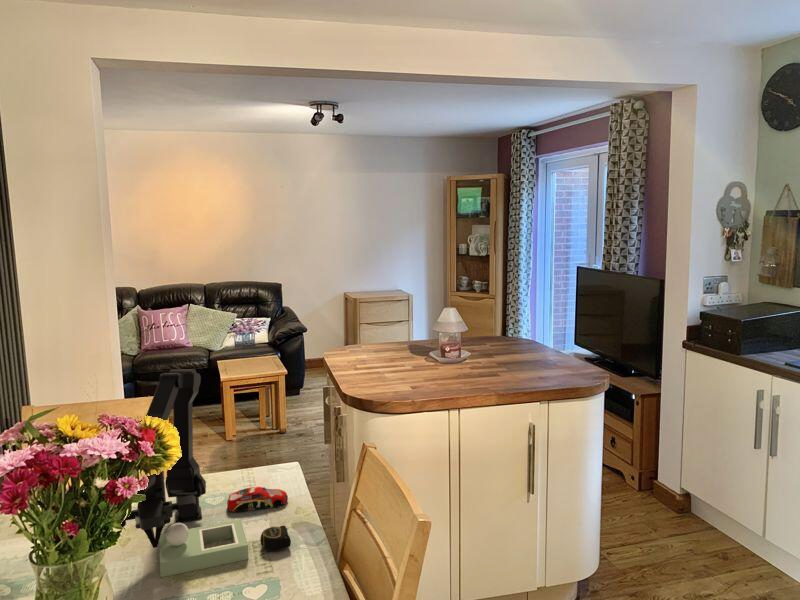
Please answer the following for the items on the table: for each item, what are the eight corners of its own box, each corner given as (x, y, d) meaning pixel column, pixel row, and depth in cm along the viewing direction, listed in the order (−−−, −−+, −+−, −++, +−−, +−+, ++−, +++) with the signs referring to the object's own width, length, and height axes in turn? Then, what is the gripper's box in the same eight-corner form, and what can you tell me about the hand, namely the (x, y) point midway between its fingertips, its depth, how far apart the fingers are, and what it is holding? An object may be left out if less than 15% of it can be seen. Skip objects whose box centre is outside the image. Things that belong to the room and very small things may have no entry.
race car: (287, 497, 172) (286, 480, 171) (288, 507, 166) (288, 490, 165) (227, 504, 168) (227, 487, 167) (227, 515, 161) (226, 497, 161)
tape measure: (291, 551, 143) (291, 536, 143) (262, 556, 141) (261, 541, 141) (287, 537, 150) (287, 523, 149) (259, 541, 148) (259, 527, 147)
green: (160, 548, 145) (159, 534, 145) (241, 532, 152) (240, 519, 151) (160, 577, 133) (159, 562, 133) (248, 559, 140) (247, 544, 139)
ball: (166, 541, 141) (165, 521, 141) (189, 537, 143) (187, 517, 143) (166, 552, 137) (165, 531, 136) (190, 547, 139) (188, 527, 138)
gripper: (101, 505, 125) (107, 575, 128) (195, 490, 132) (199, 556, 134) (106, 483, 136) (111, 548, 138) (193, 470, 142) (197, 532, 144)
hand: (155, 546), depth 138 cm, fingers closed
